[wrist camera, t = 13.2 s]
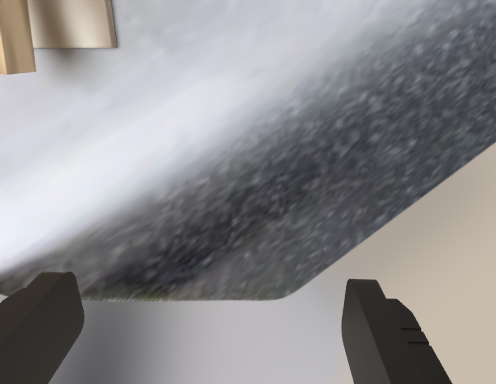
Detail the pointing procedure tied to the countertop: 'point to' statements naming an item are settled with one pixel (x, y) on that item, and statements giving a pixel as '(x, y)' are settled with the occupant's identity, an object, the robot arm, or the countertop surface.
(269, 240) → the countertop surface
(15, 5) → the oak batten
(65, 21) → the stand
